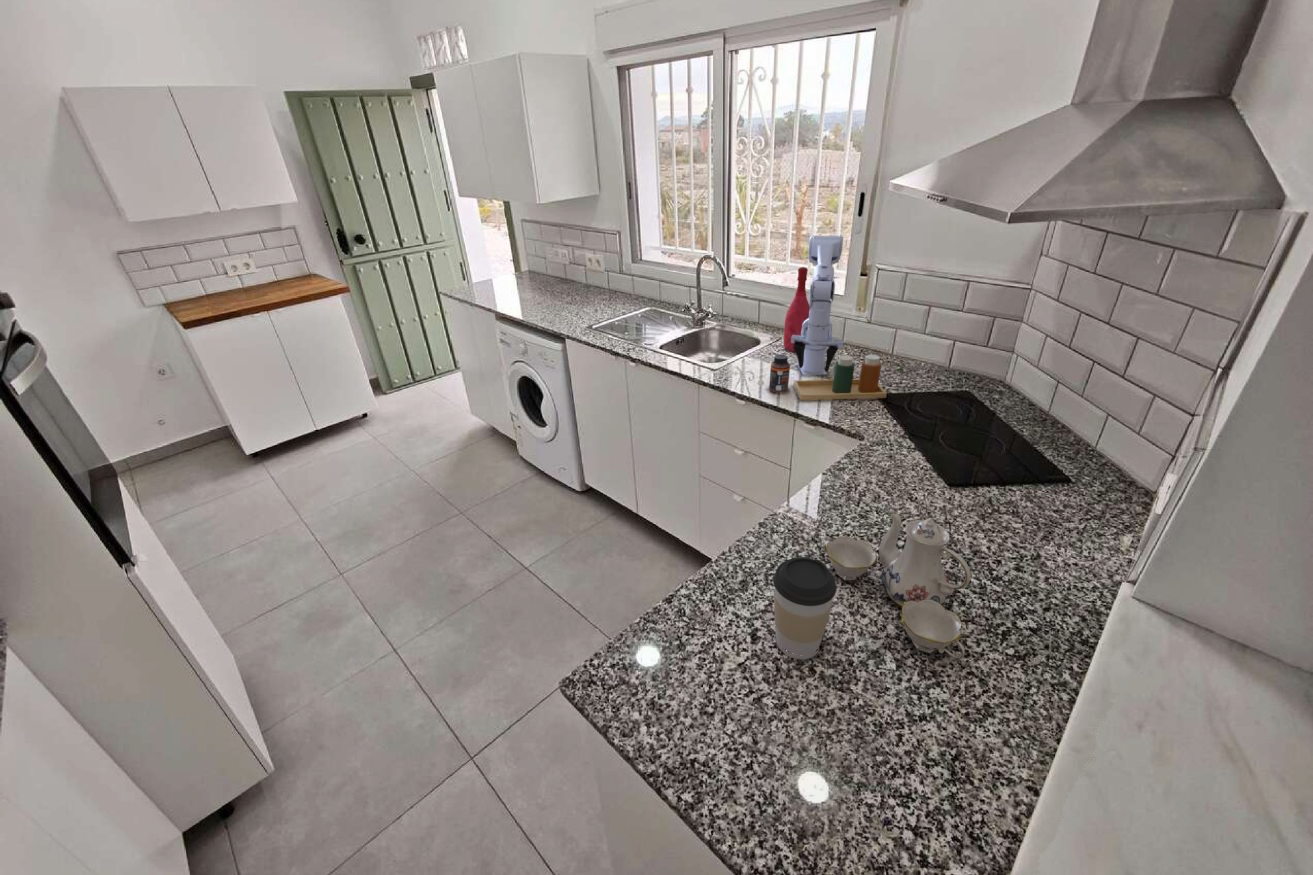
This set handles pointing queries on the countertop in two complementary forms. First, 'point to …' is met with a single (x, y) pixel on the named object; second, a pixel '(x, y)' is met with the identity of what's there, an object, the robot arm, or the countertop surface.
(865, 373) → the amber bottle
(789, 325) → the wine bottle
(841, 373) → the dark green bottle
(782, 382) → the supplement bottle
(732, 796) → the countertop surface
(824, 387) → the tray
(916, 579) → the chinaware
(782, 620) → the coffee cup
